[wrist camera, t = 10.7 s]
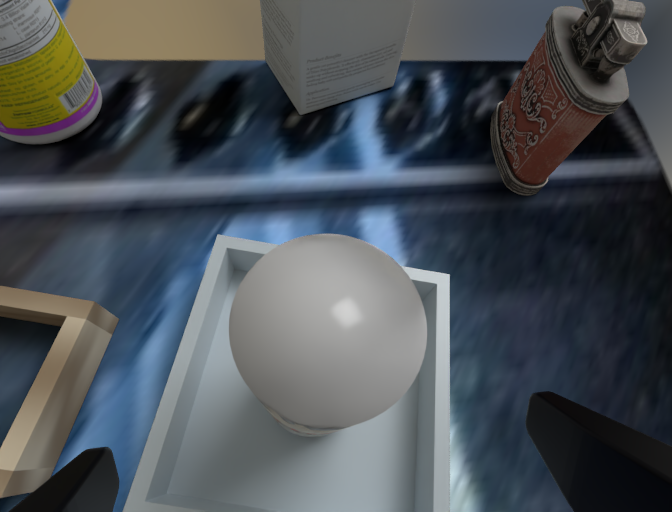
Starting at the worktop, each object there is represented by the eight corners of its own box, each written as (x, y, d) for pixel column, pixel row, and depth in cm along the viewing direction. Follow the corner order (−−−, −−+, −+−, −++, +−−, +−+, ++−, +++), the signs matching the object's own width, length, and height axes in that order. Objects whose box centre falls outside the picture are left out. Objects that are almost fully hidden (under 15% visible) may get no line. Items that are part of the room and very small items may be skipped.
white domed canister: (330, 458, 16) (374, 474, 7) (244, 403, 16) (184, 354, 8) (375, 366, 18) (455, 288, 9) (297, 321, 18) (298, 205, 10)
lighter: (548, 198, 24) (692, 58, 16) (499, 192, 24) (616, 47, 15) (527, 112, 28) (634, -40, 19) (485, 106, 28) (572, -50, 19)
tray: (423, 549, 15) (449, 571, 12) (151, 506, 15) (119, 520, 12) (429, 296, 20) (449, 274, 18) (228, 262, 20) (217, 234, 17)
